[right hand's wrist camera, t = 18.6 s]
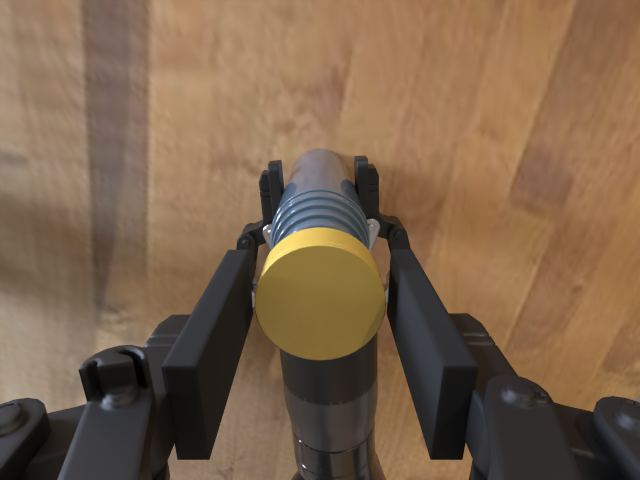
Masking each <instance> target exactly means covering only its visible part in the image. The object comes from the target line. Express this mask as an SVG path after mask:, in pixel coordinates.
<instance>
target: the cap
mask: <svg viewBox="0 0 640 480" xmlns="http://www.w3.org/2000/svg"><path fill="white" fill-rule="evenodd" d="M254 304H255V312H256V317H257V320H258V322H259V324H260V326H261V328H262V330H263V332H264V333H265V334H266V336H267V337H268V338H269V339H270V340H271V341H272V342H273V343H274V344H275V345H276V346H278V347H279V348H281V349H282V350H284V351H286V352H288V353H290V354H292V355H294V356H297V357H301V358H305V359H311V360H330V359H336V358H340V357H343V356H346V355H348V354H351V353H353V352H355V351H357V350H358V349H360V348H361V347H363V346H364V345H365V344H366V343H368V342H369V341H370V340H371V339H372V337H373V336H374V335H375V334H376V332H377V331H378V329H379V327H380V326H381V323H382V321H383V318H384V314H385V310H386V295H385V290H384V286H383V283H382V280H381V277H380V274H379V271H378V268H377V265H376V262H375V260H374V258H373V256H372V254H371V253H370V252H369V250H368V249H367V248H366V247H365V246H364V245H363V244H362V243H361V242H360V241H359V240H358V239H356V238H355V237H353V236H351V235H350V234H348V233H345V232H343V231H340V230H336V229H332V228H323V227H316V228H308V229H304V230H300V231H298V232H295V233H293V234H291V235H289V236H287V237H286V238H284V239H283V240H281V241H280V242H279V243H278V244H277V245H276V246H275V247H274V248H273V249H272V251H271V252H270V254H269V255H268V257H267V259H266V261H265V263H264V266H263V269H262V272H261V275H260V278H259V282H258V285H257V288H256V292H255V299H254Z"/></svg>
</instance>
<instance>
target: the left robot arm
mask: <svg viewBox="0 0 640 480" xmlns="http://www.w3.org/2000/svg"><path fill="white" fill-rule="evenodd" d="M354 165H355V189H356V192H357V195H358V197H359V200H360V203H361V205H362V208H363V211H364V214H365V216H366V219H367V222H368V226H369V233H370V246H369V252H370V253H371V251H372V248H373V246H374V243H375V240H376V238H377V236H378V237H382V238H385V239H387V242H388V246H389V249H390V253H391V250H411V249H410V244H409V240H408V236H407V232H406V230H405V228H404V227H403V225H402V224H401V222H400V220H399V219H398V218H397V217H395V216H386V215H383V214H381V213H379V175H378V173H377V170H376V168H375V167H374V165H373V164H368V159H367V158H366V156H355V158H354ZM259 187H260V195H261V204H262V213H263V219H262V220H261V221H259V222H257V223H255V224H253V223H250V224H247V225H246V226H245V227H244V229H243V232H242V234H241V235H240V237H239V238H238V240H237V248H236V250H249V260H250V274H251V288H252V302H253V307H255V304H254V299H255V292H256V288H257V285H258V282H259V277H256V276H255V269H256V262H257V254H258V246H259V245H261V244H264V243H266V242H267V244H268V246H269V248H270V249H271V241H270V239H271V227H272V223H273V220H274V217H275V214H276V211H277V209H278V206H279V203H280V200H281V198H282V195H283V192H284V182H283V171H282V162H281V160H277V161H270V162H269V164H268V170H264V171H263V173H262V174H261V177H260V180H259ZM389 274H390V271H389V272H388V273H387V275H386V283H385V284H384V285H383V286H384V290H385V295H386V303H387V302H388V288H389ZM280 354H281V363H282V372H283V381H284V390H285V398H286V405H287V409H288V413H289V416H290V419H291V424H292V433H293V442H294V452H295V459H296V463H297V467H298V471H297V473H296V474H295V475H294V476H293V478H292V479H291V480H386V478H385V475H384V473H383V470H382V468H381V465H380V462H379V459H378V456H377V454H376V451H375V425H374V421H375V412H376V406H377V332H376V334H375V335H374V336H373V337H372V339H371V340H370V341H369V342H368V343H366V344H365V345H364V346H363V347H361V348H360V349H358V350H357V351H355V352H353V353H351V354H348V355H346V356H343V357H340V358H336V359H330V360H311V359H305V358H301V357H297V356H294V355H292V354H290V353H288V352H286V351H284V350H282V349H281V348H280Z"/></svg>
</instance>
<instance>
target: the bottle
mask: <svg viewBox="0 0 640 480" xmlns="http://www.w3.org/2000/svg"><path fill="white" fill-rule="evenodd" d="M316 227H323V228H332V229H336V230H340V231H343V232H345V233H348V234H350V235H351V236H353V237H355V238H356V239H358V240H359V241H360V242H361V243H362V244H363V245H364V246H365V247H366V248H367V249H368V250H369V246H370V233H369V226H368V222H367V219H366V216H365V214H364V211H363V208H362V205H361V203H360V200H359V197H358V195H357V192H356V189H355V186H354V184H353V181H352V178H351V175H350V173H349V170H348V167H347V165H346V163H345V162H344V161H343V159H342V158H341V157H339V156H338V155H337V154H335V153H333V152H331V151H328V150H323V149H318V150H312V151H309V152H307V153H305V154H303V155H302V156H301V157H300V158H299V159H298V160H297V161H296V162H295V164H294V165H293V168H292V170H291V173H290V176H289V178H288V181H287V184H286V187H285V189H284V192H283V195H282V198H281V200H280V203H279V206H278V209H277V211H276V214H275V217H274V220H273V223H272V227H271V239H270V241H271V251H272V249H273V248H274V247H275V246H276V245H277V244H278V243H279V242H280V241H281V240H283V239H284V238H286V237H287V236H289V235H291V234H293V233H295V232H298V231H300V230H304V229H308V228H316Z"/></svg>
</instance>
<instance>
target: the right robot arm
mask: <svg viewBox="0 0 640 480" xmlns="http://www.w3.org/2000/svg"><path fill="white" fill-rule="evenodd" d="M252 316H253V302H252V288H251V274H250V260H249V250H228V251H227V253H226V255H225V257H224V258H223V260H222V262H221V264H220V265H219V267H218V269H217V270H216V272H215V274H214V276H213V277H212V279H211V281H210V283H209V284H208V286H207V288H206V290H205V291H204V293H203V295H202V296H201V298H200V300H199V302H198V303H197V305H196V307H195V309H194V310H193V312H192V314H191V315H171V316H170V317H169V318H167V319H166V320H164V321H163V322H162V323H160V324H159V325H158V326H157V328H156V329H155V331H154V332H153V334H152V335H151V338H149V339H148V341H147V342H146V344H145V347H143V348H141V347H137V346H133V345H124V346H117V347H113V348H108V349H106V350H103V351H101V352H99V353H97V354H95V355H93V356H92V357H90V358H89V359H88V360H86V361H85V362H84V363H83V365H82V366H81V367H80V369H79V373H80V377H81V381H82V384H83V388H84V392H85V395H86V399H87V403H86V404H85V405H81V406H78V407H74V408H70V409H65V410H61V411H57V412H52V413H48V414H47V412H46V408H45V405H44V404H43V403H42V402H41V401H40V400H38V399H32V398H24V399H17V400H12V401H9V402H7V403H3V404H1V405H0V480H170V473H169V466H168V461H167V460H168V458H169V455H170V453H171V450H172V448H173V446H174V443H175V447H176V453H177V459H178V460H209V459H210V456H211V452H212V449H213V446H214V442H215V439H216V436H217V432H218V429H219V426H220V422H221V419H222V416H223V412H224V409H225V406H226V402H227V399H228V396H229V393H230V389H231V386H232V383H233V379H234V376H235V373H236V369H237V366H238V363H239V359H240V356H241V353H242V349H243V346H244V343H245V339H246V336H247V333H248V329H249V326H250V323H251V319H252ZM387 316H388V319H389V323H390V326H391V329H392V333H393V336H394V339H395V343H396V346H397V349H398V353H399V356H400V359H401V363H402V366H403V369H404V373H405V376H406V379H407V383H408V386H409V389H410V393H411V396H412V399H413V403H414V406H415V409H416V412H417V416H418V419H419V422H420V426H421V429H422V432H423V436H424V439H425V442H426V446H427V449H428V452H429V456H430V459H431V460H462V459H463V453H464V447H465V442H466V444H467V446H468V449H469V451H470V453H471V456H472V458H473V461H472V466H471V472H470V477H469V480H640V403H639V402H636V401H633V400H630V399H627V398H621V397H614V396H611V397H604V398H601V399H600V400H599V401H598V402H596V405H595V408H594V411H593V412H591V411H586V410H582V409H577V408H573V407H569V406H564V405H561V404H557V403H554V402H553V400H552V399H551V397H550V396H549V394H548V393H547V392H546V391H545V390H544V389H543V388H541V387H540V386H539V385H538V384H536V383H534V382H532V381H530V380H528V379H526V378H523V377H519V376H518V375H517V374H516V372H515V371H514V369H513V368H512V367H511V365H510V364H509V362H508V361H507V359H506V358H505V357H504V355H503V354H502V352H501V351H500V349H499V348H498V347H497V346H495V342H494V341H493V339H492V338H491V336H489V334H488V332H487V331H486V329H485V328H484V326H483V325H482V324H481V323H480V322H479V321H478V320H476V319H475V318H473V317H472V316H470V315H469V314H448V312H447V310H446V309H445V307H444V305H443V303H442V302H441V300H440V298H439V296H438V295H437V293H436V291H435V290H434V288H433V286H432V284H431V283H430V281H429V279H428V277H427V276H426V274H425V272H424V270H423V269H422V267H421V265H420V264H419V262H418V260H417V258H416V257H415V255H414V253H413V251H412V250H391V260H390V274H389V288H388V302H387Z"/></svg>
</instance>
